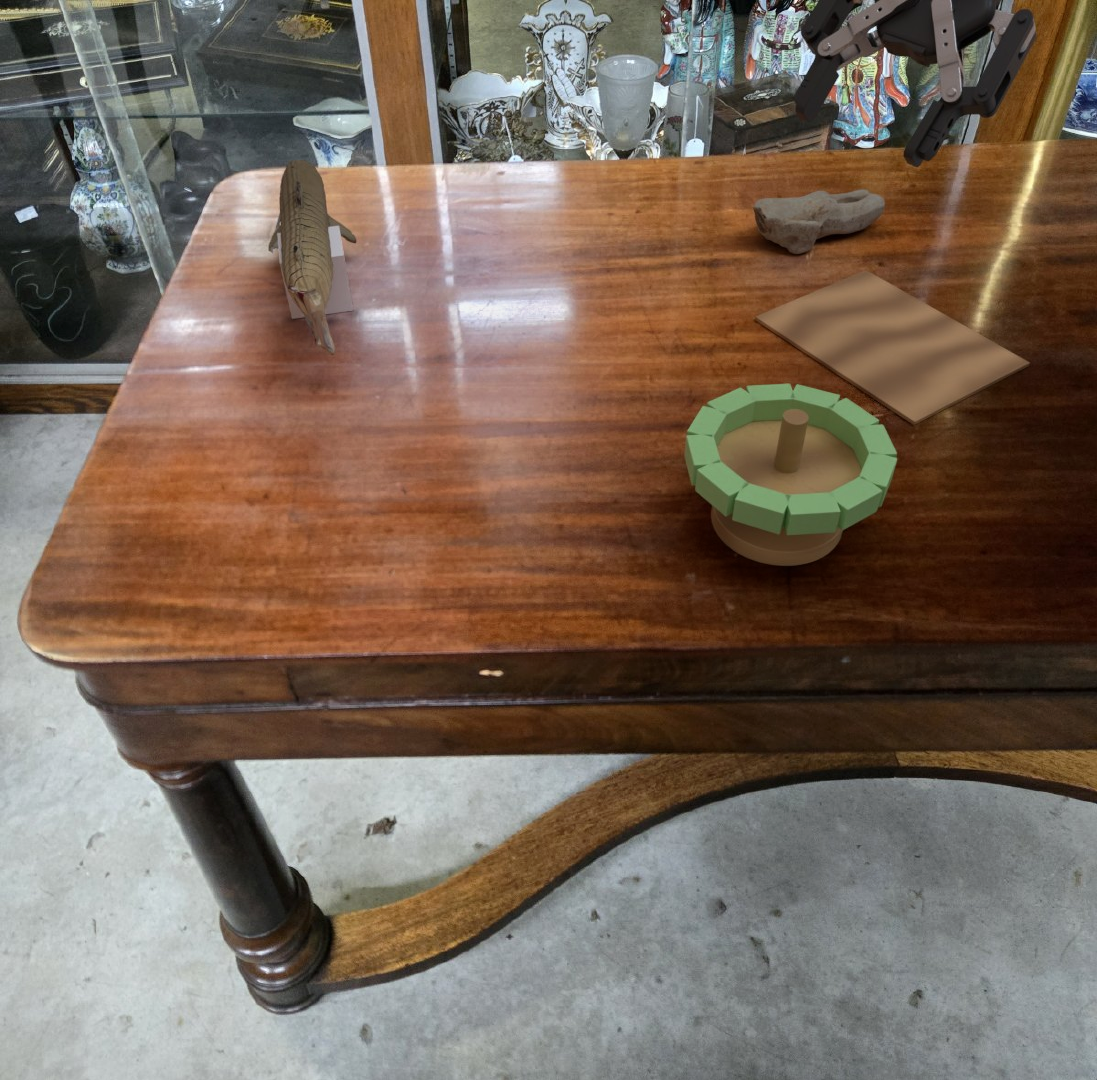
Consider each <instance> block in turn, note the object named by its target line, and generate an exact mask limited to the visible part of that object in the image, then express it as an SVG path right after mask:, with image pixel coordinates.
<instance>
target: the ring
mask: <svg viewBox="0 0 1097 1080" xmlns="http://www.w3.org/2000/svg"><path fill="white" fill-rule="evenodd" d="M840 398H841V394H839V393H833V392H830V391H826V390H821V389H818V388H815V387H814V388H813V387H811V386H807V385H802V384H798V383H797V384H796V385H795V386H794V388H793V386H792V385H791V383H774V384H770V383H769V384H753V385H746V388H745V389H744V388H742V387H738V388H735V389H734V390H732V391H730V392H727V393H725V394H722V395H720V396H718V397H716V398H714V399H711V400H709V401H707V402H706V406H705V405H702V406H701V408H700V409H699V411H698V413H697V414H696V416H695V418H694V419H693V421H692V422H691V424H690V425H689V427H688V429H686V436H685V445H684V455H683V456H684V460H685V465H686V468H687V469H686V470H687V472H688V476H689V481H690V485H691V486H692V487H694V491H695V492H696V493H697V494H698V495H700V497H702V498H703V499H704V500H705V501H707V502H708V503H709V504H710V505H711V506H712V505H713V506H714V507H715V508H716V509H717V510H718V511H720V512H721V513H722V514H723V515H724V516H726V517H727V516H728V515H730V514H732V513H733V517H732V520H733V521H736V522H740V523H743V524H746V525H749V526H753V527H756V528H759V529H762V530H766V531H769V532H772V533H776V534H780V532H781V530H782V528H783V526H784V528H785V531H786V534H787V535H803V534H819V533H835V532H836V528H837V527H838V528H840V529H841V530H843V531H844V530H846V529H848V528H849V527H852V526H854V525H855V524H857V523H859V522H861V521H862V520H865V519H866V518H869V517H870V516H872V515H873V514H875V513H877V512H878V510H879V508H881V507H882V506H883V503H884V501H885V498H886V495H887V493H888V491H889V488H890V485H891V482H892V481H893V477H894V474H895V473H894V472H895V471H896V470H895V469H896V466H897V461H898V457H897V456H898V452H897V450H896V448H895V446H894V444H893V441H892V440H891V438H890V435H889V433H888V431H887V430H886V428H885V425H884V424H879V423H880V419H878V418H877V417H875V416H874V415H872V414H871V413H869V412H868V411H867V410H865V409H864V408H862V407H861V406H859V405H858V404H856V403H855V402H853V401H852V400H850V399H849V398H847V397H844V398H842V399H840ZM789 409H799V410H802V411H804V412H805V413H807V415H808V417H809V420H808V425H811V426H815V427H819V428H823V429H826V430H827V431H828V432H830V433H831V434H833V435H834V436H836V437H837V438H838V439H840V440H841V441H843V442H844V443H845V444H847V445H848V446H850V447H851V448H852V449H853V450H854V453H855V455H856V457H857V459H858V462H859V464H860V466H861V469H862V470H861V473H860V475H859V477H858V478H856V479H854V480H852V481H850V482H848V483H846V484H844V485H842V486H841V487H839V488H837V489H835V490H833V491H831V492H826V493H809V494H792V495H788V494H784V493H781V492H777V491H774V490H770V489H767V488H764V487H760V486H757V485H753V484H750V483H747V482H746V481H745V480H744V479H742V478H741V477H740V476H739V475H737V474H736V473H735V472H734V471H732V470H731V469H730V468H729V467H727V466H726V465H725V464H724V463H723V462H721V460H720V456H719V453H718V449H717V446H718V444H719V442H720V441H721V439H722V437H723V436H724V434H727V433H729V432H731V431H733V430H735V429H737V428H739V427H741V426H743V425H746V424H748V423H750V422H752V421H770V420H782V417H783V413H784V412H785V411H787V410H789Z"/></svg>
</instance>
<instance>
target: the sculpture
mask: <svg viewBox="0 0 1097 1080" xmlns="http://www.w3.org/2000/svg"><path fill="white" fill-rule="evenodd" d="M885 207H886V203H885V199H884V198H883V197H882V196H881V195H880V194H877V193H872V192H870V190H867V189H862V188H860V189H857V190H854V191H848V192H841V193H835V194H834V193H833V194H832V193H829V192H828V191H826V190H824V189H823V190H822V189H821V190H815V191H812V192H811V193H808V194H805V195H803V196H797V197H766V198H765V197H764V198H760V199H759V200H757V201H756V202H755V203H754V205H753V206H752V210H753V212H754V218H755V223H756V227H757V229H758V231H759V233H760V234H761V235H762V236H763V237H764V239H766V240H768V241H771V242H772V243H774V244H778V245H779V246H780V247H782V248H786V249H787V250H788V252H789V253H791V254H794V255H799V254H803V253H806V252H809V251H811V250H812V248H813V247H814V244H815V243H816V240H819V239H821V238H824V237H827V236H831V235H847V234H848V235H849V234H852V233H855V232H858V231H862V230H865V229H866V228H868V227H869V226H871V224H872V223H874V222H875V221H877V220H878V219H879V218H880V217H881V215H882V214H883V212H884V211H885Z"/></svg>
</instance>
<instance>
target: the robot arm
mask: <svg viewBox="0 0 1097 1080" xmlns="http://www.w3.org/2000/svg"><path fill="white" fill-rule="evenodd" d="M863 2H864V0H818V1H817V3H816V4H815V5H814V7H813V9H812V11H811V12H810V14H809V16H808V17H807V19H806V20H805V22H804V24H803V25H802V27H801V29H800V35H801V37H802V39H803V40H804V42H805V44H806V46H807V47H808V49H809V50H810V53H812V54H813V55H814V59H813V61H812V63H811V65H810V66H809V68H808V70H807V72H806V74H805V75H804V77H803V79H802V81H801V82H800V85H799V86H798V88H797V90H796V91H795V94H794V100H793V102H794V104H795V108H794V111H795V113H796V115H797V116H798V117H799V119H800V120H801V121H803V122H806V123H808V124H812V123H813V122H814V121H815V119H816V118H817V116H818V114H819V112H820V110H821V109H822V107H823V106H824V103H825V102H826V99H828V97H829V95H830V93H831V91H832V89H833V88H834V86H835V84H836V82H837V81H838V79H839V77H840V74H839V72H838V71H840V70H842V69H844V68H845V67H847V66H848V65H850V64H852V63H854V62H855V61H858V60H859V59H860V58H868V57H871V56H872V55H874V54H876V53H878V52H879V51H881V50H883V49H884V48H885V49H886V52H887V53H888V54H890V55H893V56H895V57H900V58H901V57H902V58H910V59H912V61H914V62H916V63H917V64H918V65H921V66H924V67H926V68H929V67H930V65H936V64H937V67H938V71H939V72H938V73H939V80H940V81H939V83H940V92H941V93H940V94H941V97H939V100H935V99H933V101H932V102H931V104H930V105H929V107H928V109H927V111H926V112H925V114H924V116H923V117H922V119H921V120H920V122H919V124H918V126H917V128H916V129H915V131H914V132H913V134H912V136H911V137H910V139H909V140H908V142H907V144H906V146H905V148H904V150H903V158H904V160H905V161H906V163H907V165H910V166H912V167H915V168H919V167H920V166H921V165H922V163H923V162H924V161H925V162H930V161H932V159H934V158H935V157H936V155H937V154H938V152H939V151H940V149H941V147H942V145H943V144H944V142H945V141H946V139H947V137H948V136H949V134H950V132H951V130H952V129H953V127H954V126H955V124H956V123H957V121H958V120H959V119H960V118H961V117H964V116H969V115H979V117H982V118H983V119H989V118H991V117H993V116H994V115H995V114H996V113H997V112H998V111H999V108H1000V106H1001V104H1002V103H1003V101H1004V99H1005V97H1006V95H1007V93H1008V91H1009V89H1010V88H1011V85H1012V84H1013V82H1014V80H1015V78H1016V76H1017V75H1018V73H1019V71H1020V69H1021V68H1022V65H1023V63H1024V61H1025V60H1026V58H1027V56H1028V55H1029V52H1030V50H1031V49H1032V47H1033V45H1034V43H1035V41H1036V39H1037V28H1036V23H1035V18H1034V14H1033V12H1032V10H1030V9H1028V8H1022V9H1019V10H1017V11H1016V12H1015V13H1012V12H1009V11H1004V10H1000V9H999V7H1000V4H1001V2H1002V0H874V3H873V4H870V6H868V7H866V8H864V9H863V10H861V11H860V12H858V13H856V14H855V15H853V16H851V18H849V19H848V21H847V23H846V25H844V26H843V24H844V22H845V20H846V19H847V17H848V16H849V14H850V13H851V11H852V9H853V8H854V6H855V4H862V3H863ZM842 26H843V27H842ZM841 27H842V28H841ZM874 28H876V29H875V30H873V31H871V30H872V29H874ZM869 31H871V32H869ZM991 32H994V34H993V37H992V40H993V41H992V42H993V45H994V48H995V49H994V51H993V53H992V55H991V56H990V59H989V61H988V63H987V64H986V67H985V68H984V70H983V72H982V74H981V76H980V78H979V80H978V81H977V83H976V85H973V86H966V71H965V62H964V61H965V60H964V51H963V50H964V49H966V48H967V47H970V46H971V45H972V44H975V43H976V42H977V41H979V40H981V39H983V38H984V37H986V36H988V35H989V34H990V33H991Z"/></svg>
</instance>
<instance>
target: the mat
mask: <svg viewBox="0 0 1097 1080" xmlns="http://www.w3.org/2000/svg"><path fill="white" fill-rule="evenodd" d="M754 321H756V322H757V323H758V324H760V325H761V326H763V327H765V328H766V329H768V330H769V331H771V332H772V333H774V334H775V335H776V336H777V337H780V338H781V339H783V340H784V341H786V343H789V344H790V345H792V346H794V347H795V348H796V349H798V350H799V351H801V352H803V353H804V354H805V355H806V356H808V357H810V358H811V359H813V360H814V361H816V362H817V363H819V364H821V365H822V366H824V367H825V368H826V369H828V370H829V371H831V372H833V373H834V374H835V375H837V376H838V377H840V378H842V379H843V380H844V381H846V382H848V383H849V384H851V385H852V386H854V387H855V388H857V389H858V390H860V391H861V392H863V393H864V394H866V395H867V396H869V397H870V398H871V399H873V400H874V401H876V402H877V403H879V404H881V406H884V407H885V408H886V409H888V410H890V411H891V412H893V413H895V414H896V415H897V416H899V417H901V418H902V419H903V420H905V421H907V422H908V423H909V424H911V425H913V426H915V425H918V424H919V423H921V422H923V421H925V420H927V419H929V418H930V417H933V416H935V415H937V414H938V413H940V412H943V411H944V410H946V409H948V408H950V407H952V406H954V405H956V404H958V403H960V402H962V401H963V400H965V399H968V398H969V397H972V396H974V395H975V394H978V393H979V392H981V391H983V390H986V389H987V388H989V387H991V386H993V385H995V384H997V383H999V382H1000V381H1003V380H1004V379H1006V378H1008V377H1010V376H1012V375H1014V374H1016V373H1018V372H1019V371H1022V370H1024V369H1025V368H1027V367H1028V368H1029V366H1030V364H1031V362H1029V361H1028V360H1026V359H1025V358H1022V357H1021V356H1019V355H1017V354H1016V353H1013V352H1012V351H1010V350H1008V349H1006V348H1005V347H1003V346H1002V345H999V344H998V343H996V342H994V341H992V340H991V339H989V338H988V337H985V336H984V335H981V334H980V333H978V332H976V331H975V330H973V329H971V328H969V327H968V326H966V325H965V324H962V323H960V322H959V321H957V320H956V319H953V318H951V316H948V315H947V314H945V313H943V312H941V311H939V310H937V309H936V308H934V307H932V306H931V305H929V304H927V303H925V302H924V301H922V300H920V299H918V298H917V297H915V296H913V295H912V294H910V293H908V292H906V291H904V290H902V289H900V288H899V287H897V286H895V285H893V284H891V283H890V282H888V281H887V280H885V279H883V278H881V277H880V276H878V275H876V274H874V273H872V272H870V271H868V270H867V269H864V270H862V271H860V272H857V273H855V274H852V275H850V276H847V277H845V278H843V279H841V280H838V281H836V282H833V283H831V284H829V285H826V286H824V287H822V288H819V289H817V290H814V291H812V292H810V293H808V294H805V295H803V296H800V297H798V298H796V299H795V298H794V299H793V300H790V301H788V302H786V303H784V304H781V305H779V306H777V307H774V308H772V309H769V310H767V311H765V312H762V313H759V314H757V315H755V316H754Z"/></svg>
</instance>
